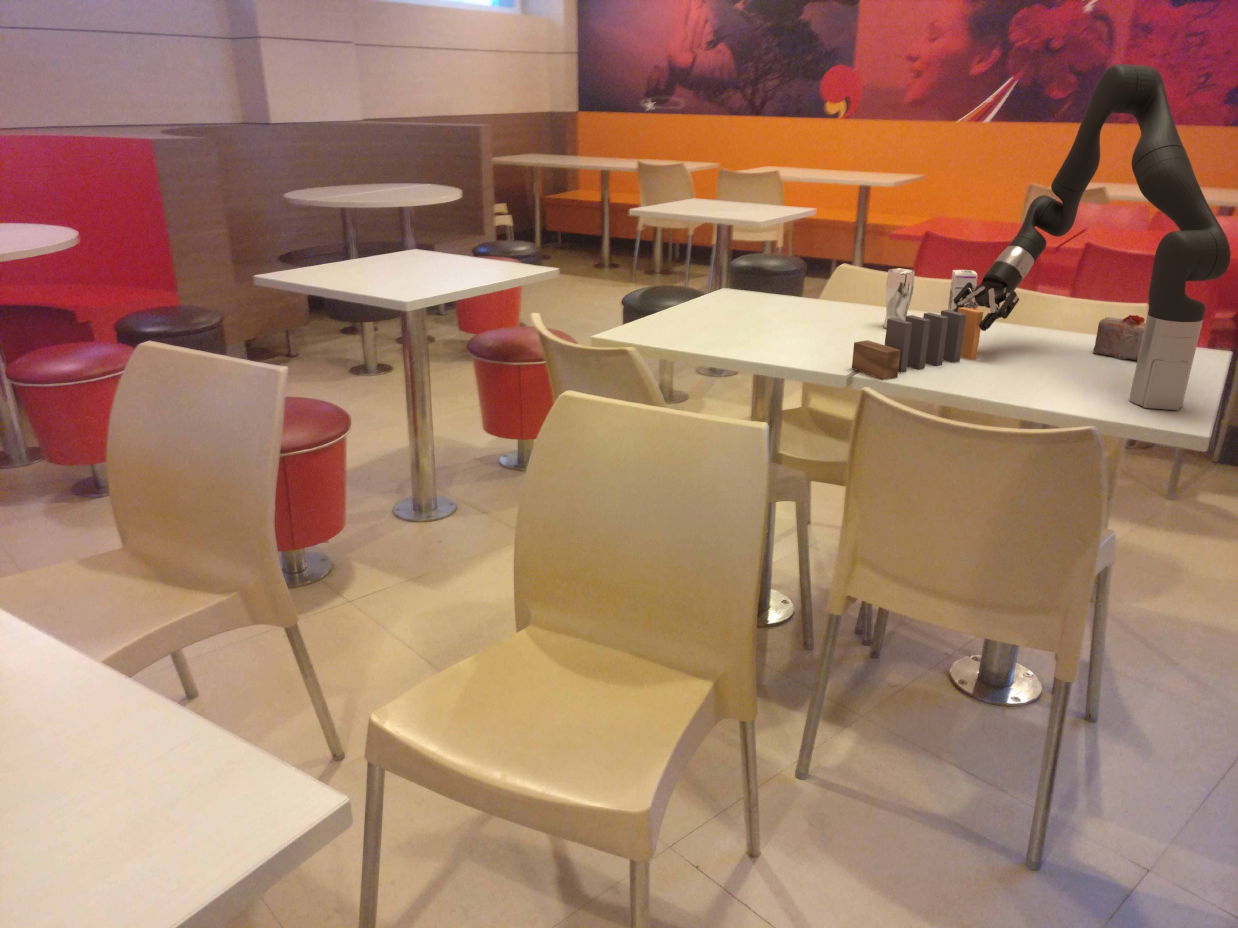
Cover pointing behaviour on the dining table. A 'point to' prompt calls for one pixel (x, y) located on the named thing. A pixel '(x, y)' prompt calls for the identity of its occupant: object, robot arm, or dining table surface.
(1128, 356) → the food item
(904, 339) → the domino
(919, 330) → the domino
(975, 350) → the orange tile
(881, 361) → the block
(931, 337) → the domino
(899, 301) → the beer glass
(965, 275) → the syrup box
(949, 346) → the domino
